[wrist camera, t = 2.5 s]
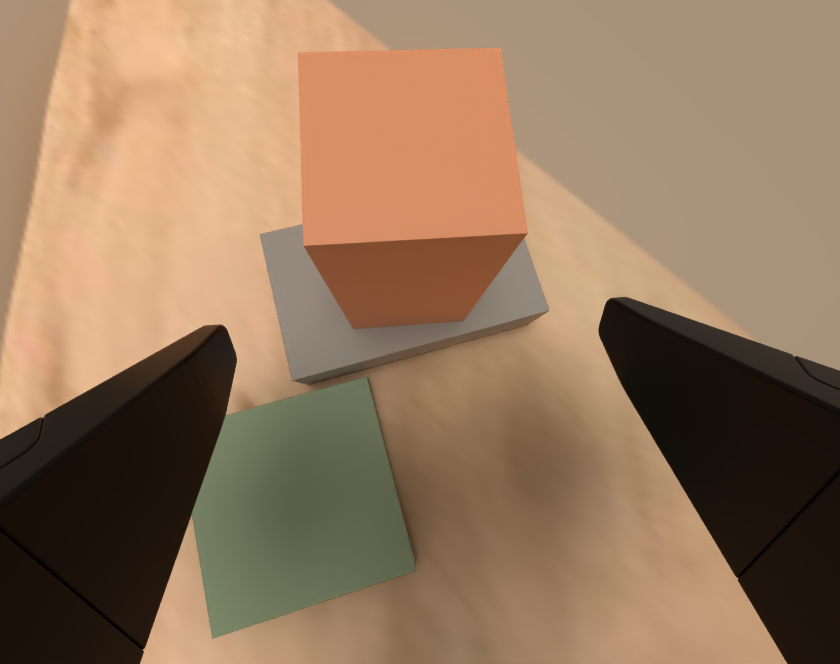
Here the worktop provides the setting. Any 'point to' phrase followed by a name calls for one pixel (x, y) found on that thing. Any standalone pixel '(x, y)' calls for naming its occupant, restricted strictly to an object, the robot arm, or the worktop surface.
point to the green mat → (298, 508)
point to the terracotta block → (408, 180)
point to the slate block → (367, 347)
